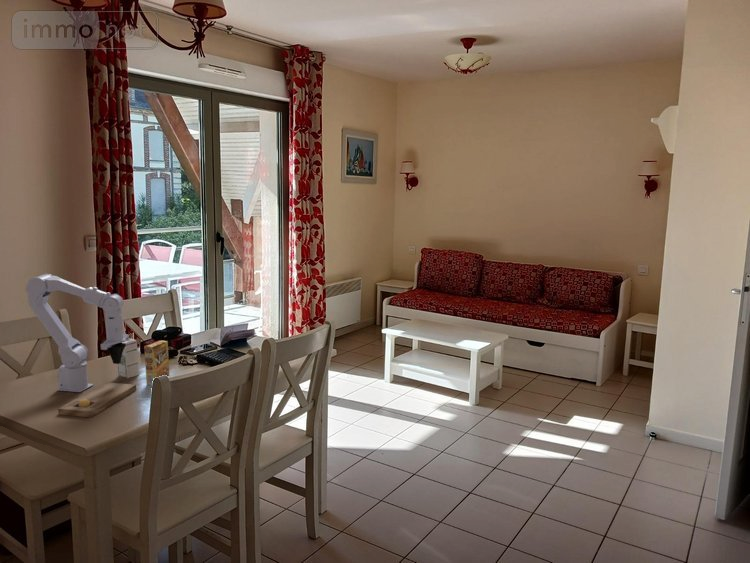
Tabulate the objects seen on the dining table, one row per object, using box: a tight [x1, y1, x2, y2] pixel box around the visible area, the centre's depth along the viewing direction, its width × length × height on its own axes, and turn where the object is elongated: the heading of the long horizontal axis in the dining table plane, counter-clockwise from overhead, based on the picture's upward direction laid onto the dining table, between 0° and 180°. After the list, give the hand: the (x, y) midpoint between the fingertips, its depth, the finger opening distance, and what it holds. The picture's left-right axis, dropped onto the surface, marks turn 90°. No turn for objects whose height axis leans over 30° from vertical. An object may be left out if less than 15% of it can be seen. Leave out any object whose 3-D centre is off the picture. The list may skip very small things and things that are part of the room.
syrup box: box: [117, 338, 140, 379], centre depth 232 cm, size 6×6×14 cm
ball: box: [79, 399, 90, 408], centre depth 199 cm, size 4×4×4 cm
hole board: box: [57, 381, 137, 418], centre depth 206 cm, size 12×26×2 cm, turn 170°
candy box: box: [144, 339, 170, 386], centre depth 225 cm, size 9×4×15 cm, turn 162°
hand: (116, 363), depth 218 cm, fingers closed
